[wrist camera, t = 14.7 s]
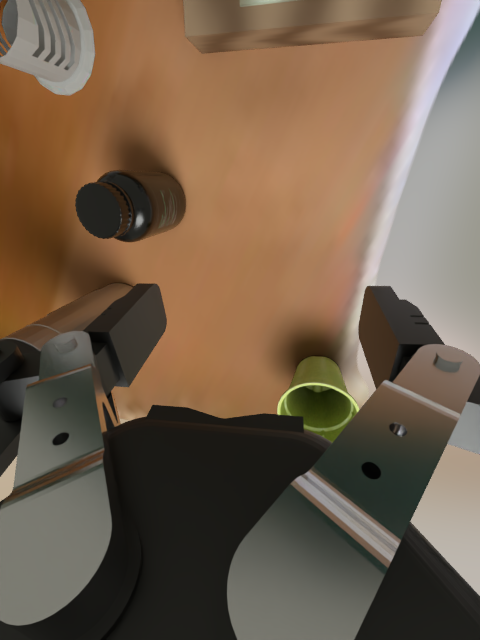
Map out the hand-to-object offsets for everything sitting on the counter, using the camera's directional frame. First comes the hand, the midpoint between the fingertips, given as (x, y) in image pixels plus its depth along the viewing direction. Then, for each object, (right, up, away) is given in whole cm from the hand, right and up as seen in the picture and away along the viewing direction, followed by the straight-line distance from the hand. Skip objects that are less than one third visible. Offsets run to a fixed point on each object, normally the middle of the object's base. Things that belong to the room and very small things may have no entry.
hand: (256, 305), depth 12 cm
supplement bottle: (-10, +14, +25) cm, 31 cm away
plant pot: (+11, -8, +30) cm, 33 cm away
